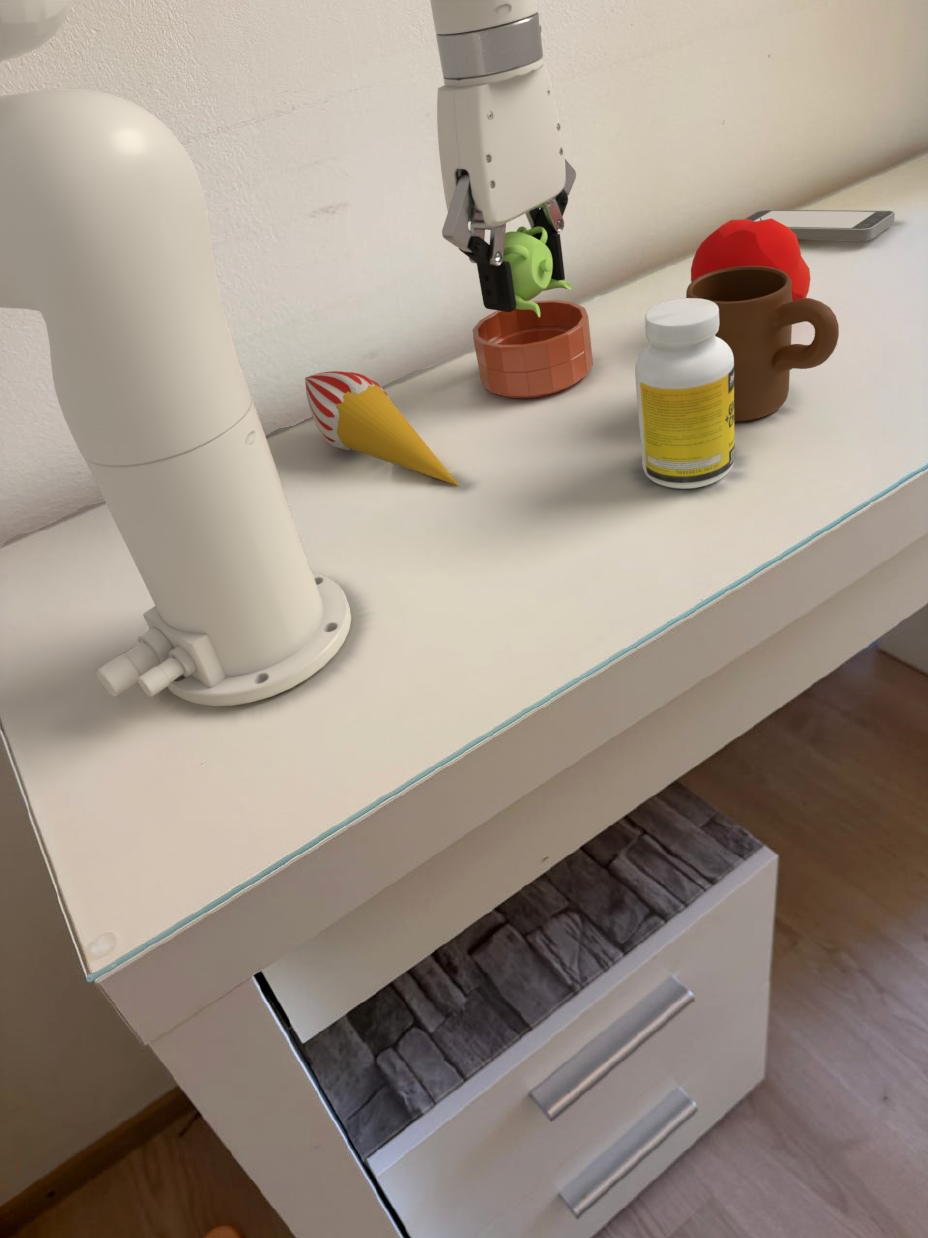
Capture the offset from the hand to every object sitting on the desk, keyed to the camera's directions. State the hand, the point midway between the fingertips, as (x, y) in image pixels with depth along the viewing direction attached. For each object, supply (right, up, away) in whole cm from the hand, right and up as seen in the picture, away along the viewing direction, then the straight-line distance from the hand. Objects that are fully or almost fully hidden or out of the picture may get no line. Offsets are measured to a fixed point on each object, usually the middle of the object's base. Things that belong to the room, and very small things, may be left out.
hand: (524, 292), depth 80 cm
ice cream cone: (-12, -14, -2) cm, 19 cm away
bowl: (+1, -6, +5) cm, 8 cm away
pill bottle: (+11, -17, -12) cm, 24 cm away
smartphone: (+38, +12, +15) cm, 42 cm away
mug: (+18, -12, -7) cm, 23 cm away
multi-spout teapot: (0, -1, +1) cm, 1 cm away
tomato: (+17, -1, +1) cm, 17 cm away
